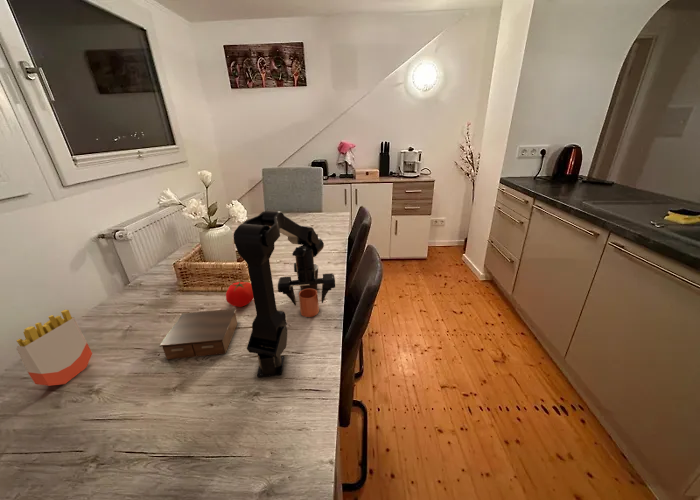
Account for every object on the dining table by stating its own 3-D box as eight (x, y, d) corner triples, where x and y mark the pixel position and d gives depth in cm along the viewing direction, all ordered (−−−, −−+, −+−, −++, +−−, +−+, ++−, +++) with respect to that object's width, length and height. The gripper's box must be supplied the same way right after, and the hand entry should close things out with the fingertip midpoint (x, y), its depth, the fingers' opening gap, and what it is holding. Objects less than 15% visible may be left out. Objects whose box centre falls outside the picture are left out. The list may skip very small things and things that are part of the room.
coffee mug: (316, 296, 107) (314, 273, 103) (295, 294, 109) (292, 272, 105) (324, 281, 118) (323, 260, 114) (305, 280, 119) (303, 259, 115)
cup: (319, 316, 96) (317, 297, 93) (300, 317, 95) (298, 299, 92) (318, 305, 102) (317, 287, 99) (301, 307, 101) (299, 289, 98)
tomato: (224, 303, 105) (220, 283, 101) (251, 293, 111) (247, 274, 107) (233, 314, 98) (228, 294, 95) (261, 303, 104) (257, 283, 101)
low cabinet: (226, 355, 80) (222, 340, 78) (164, 361, 78) (158, 346, 76) (239, 322, 94) (236, 308, 92) (186, 327, 92) (182, 313, 90)
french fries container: (38, 390, 71) (1, 333, 63) (82, 358, 80) (54, 306, 73) (53, 392, 70) (17, 335, 63) (96, 360, 80) (69, 307, 73)
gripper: (332, 251, 99) (334, 289, 106) (278, 255, 98) (284, 293, 104) (334, 265, 89) (336, 306, 95) (274, 270, 87) (280, 311, 94)
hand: (308, 303), depth 97 cm, fingers open, 9 cm apart
